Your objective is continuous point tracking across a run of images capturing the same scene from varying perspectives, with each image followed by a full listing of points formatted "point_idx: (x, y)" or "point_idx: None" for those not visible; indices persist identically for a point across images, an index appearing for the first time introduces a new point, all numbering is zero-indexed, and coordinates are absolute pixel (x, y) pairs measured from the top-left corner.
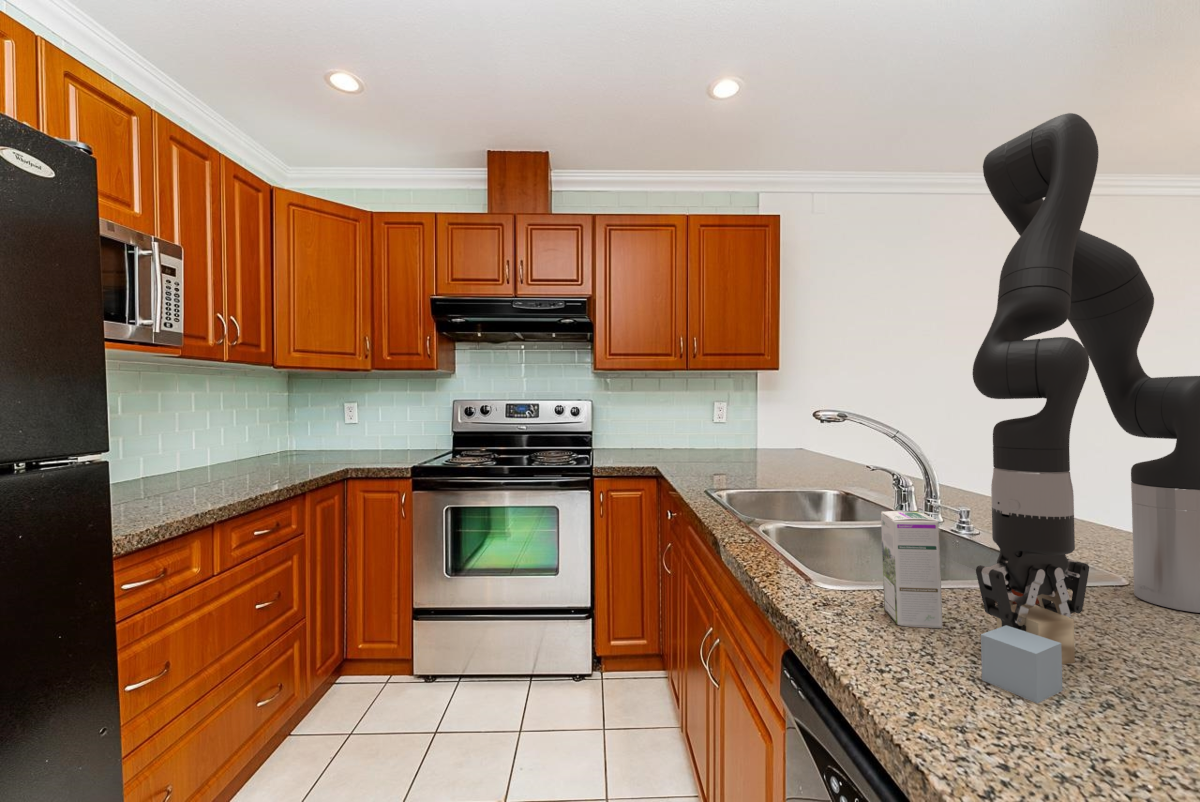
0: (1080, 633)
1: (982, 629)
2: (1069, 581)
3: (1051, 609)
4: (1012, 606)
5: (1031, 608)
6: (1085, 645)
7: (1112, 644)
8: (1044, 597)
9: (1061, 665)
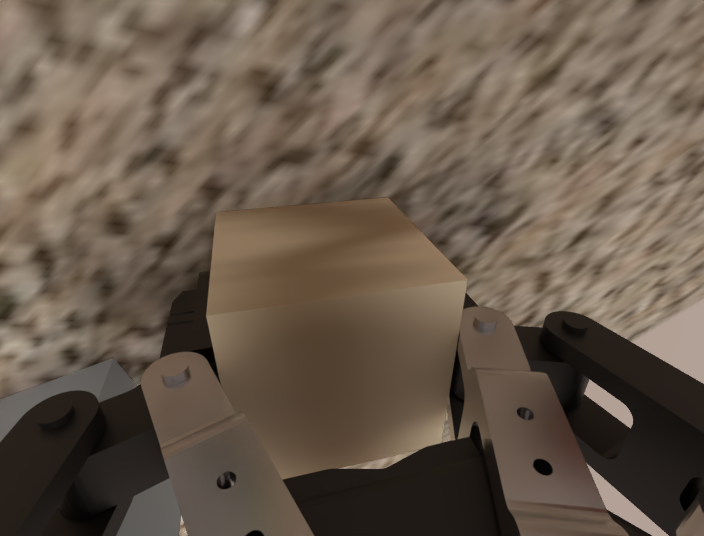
0: (635, 153)
1: (311, 18)
2: (667, 489)
3: (460, 373)
4: (312, 322)
5: (392, 345)
6: (540, 235)
7: (615, 239)
8: (463, 421)
9: (179, 519)
